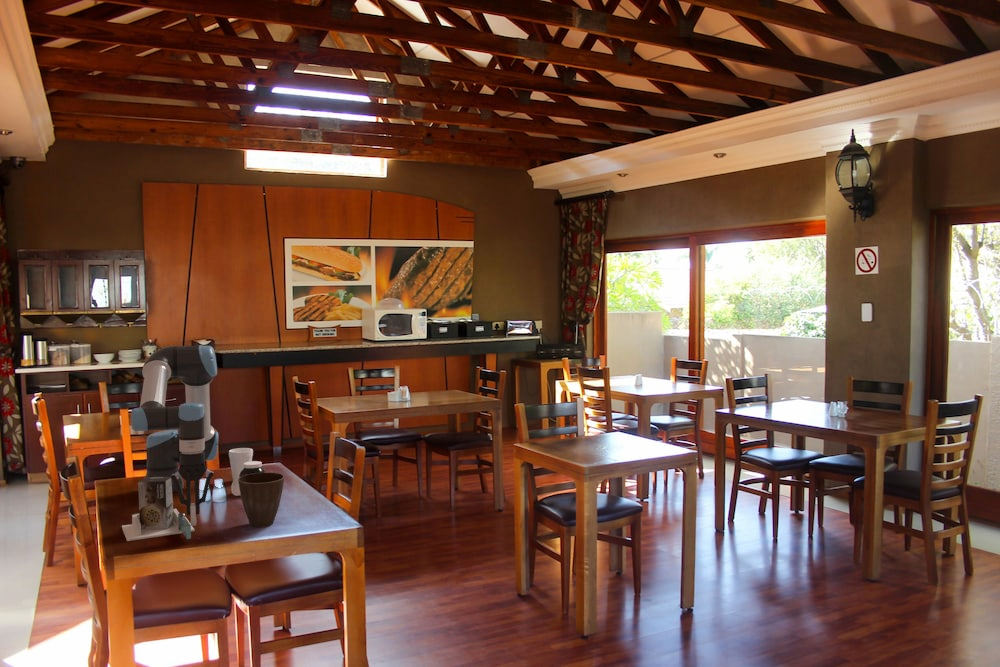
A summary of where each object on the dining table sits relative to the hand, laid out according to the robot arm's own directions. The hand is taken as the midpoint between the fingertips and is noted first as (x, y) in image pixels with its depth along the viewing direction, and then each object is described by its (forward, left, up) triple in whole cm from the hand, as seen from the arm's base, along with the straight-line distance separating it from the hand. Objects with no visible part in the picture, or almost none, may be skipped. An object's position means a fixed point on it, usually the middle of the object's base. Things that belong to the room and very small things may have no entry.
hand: (193, 524), depth 247 cm
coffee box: (-15, -9, -4) cm, 18 cm away
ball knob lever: (0, -3, -3) cm, 4 cm away
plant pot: (-2, +22, -4) cm, 23 cm away
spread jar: (-46, +28, -4) cm, 54 cm away
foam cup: (-68, +30, -4) cm, 75 cm away
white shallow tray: (-14, -9, -4) cm, 17 cm away
